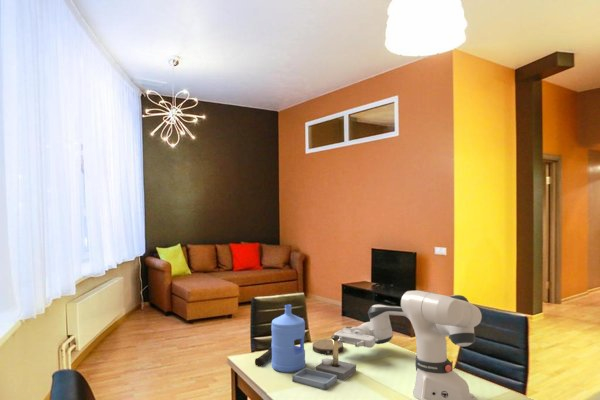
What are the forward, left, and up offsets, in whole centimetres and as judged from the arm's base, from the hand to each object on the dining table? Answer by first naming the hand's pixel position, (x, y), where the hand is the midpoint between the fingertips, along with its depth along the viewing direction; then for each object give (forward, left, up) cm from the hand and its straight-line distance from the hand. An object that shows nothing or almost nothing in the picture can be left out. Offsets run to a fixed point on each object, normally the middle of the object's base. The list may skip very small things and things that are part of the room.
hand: (347, 343), depth 187 cm
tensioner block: (0, +12, -10) cm, 15 cm away
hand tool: (+36, +15, -10) cm, 41 cm away
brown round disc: (+18, -13, -10) cm, 25 cm away
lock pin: (0, +12, -10) cm, 15 cm away
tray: (+3, +25, -10) cm, 27 cm away
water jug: (+22, +17, -10) cm, 29 cm away
